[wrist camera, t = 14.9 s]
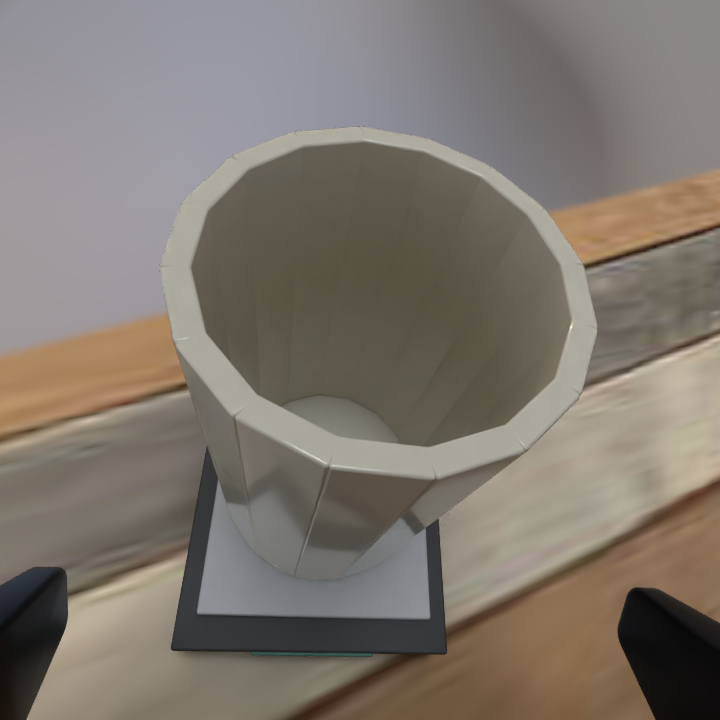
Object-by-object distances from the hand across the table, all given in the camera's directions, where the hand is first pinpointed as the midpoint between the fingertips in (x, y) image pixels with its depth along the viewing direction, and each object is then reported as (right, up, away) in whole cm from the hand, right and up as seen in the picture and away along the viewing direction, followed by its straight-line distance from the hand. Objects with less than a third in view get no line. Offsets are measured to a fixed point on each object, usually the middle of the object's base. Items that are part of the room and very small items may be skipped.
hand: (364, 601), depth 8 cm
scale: (-2, -2, +13) cm, 13 cm away
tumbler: (-1, -1, +10) cm, 11 cm away
